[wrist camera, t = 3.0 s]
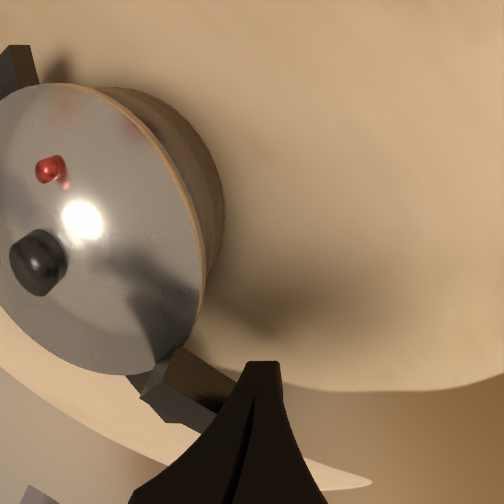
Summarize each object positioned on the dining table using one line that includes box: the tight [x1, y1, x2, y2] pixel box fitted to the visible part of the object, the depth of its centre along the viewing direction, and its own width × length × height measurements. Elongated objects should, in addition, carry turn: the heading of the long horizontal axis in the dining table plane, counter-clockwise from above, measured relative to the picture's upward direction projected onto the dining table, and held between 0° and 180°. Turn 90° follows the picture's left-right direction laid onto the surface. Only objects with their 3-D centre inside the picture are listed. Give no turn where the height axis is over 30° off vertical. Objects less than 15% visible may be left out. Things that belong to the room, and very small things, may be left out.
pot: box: [0, 45, 225, 423], centre depth 14 cm, size 13×22×4 cm, turn 4°
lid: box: [0, 83, 237, 434], centre depth 11 cm, size 14×19×3 cm
